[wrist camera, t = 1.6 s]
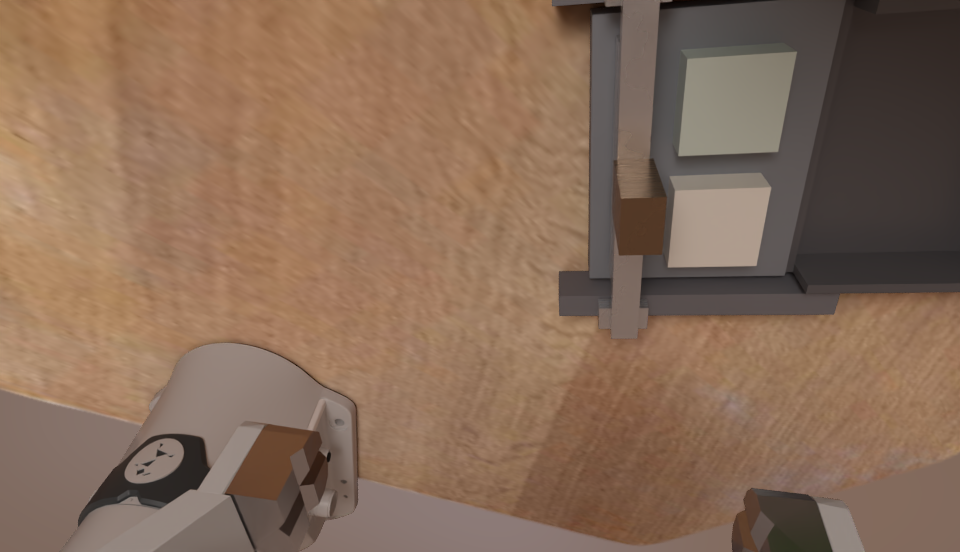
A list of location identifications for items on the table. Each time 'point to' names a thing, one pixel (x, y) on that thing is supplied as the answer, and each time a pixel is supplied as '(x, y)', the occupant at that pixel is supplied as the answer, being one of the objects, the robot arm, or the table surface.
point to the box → (886, 156)
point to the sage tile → (732, 99)
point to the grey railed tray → (710, 156)
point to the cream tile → (715, 219)
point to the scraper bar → (633, 170)
